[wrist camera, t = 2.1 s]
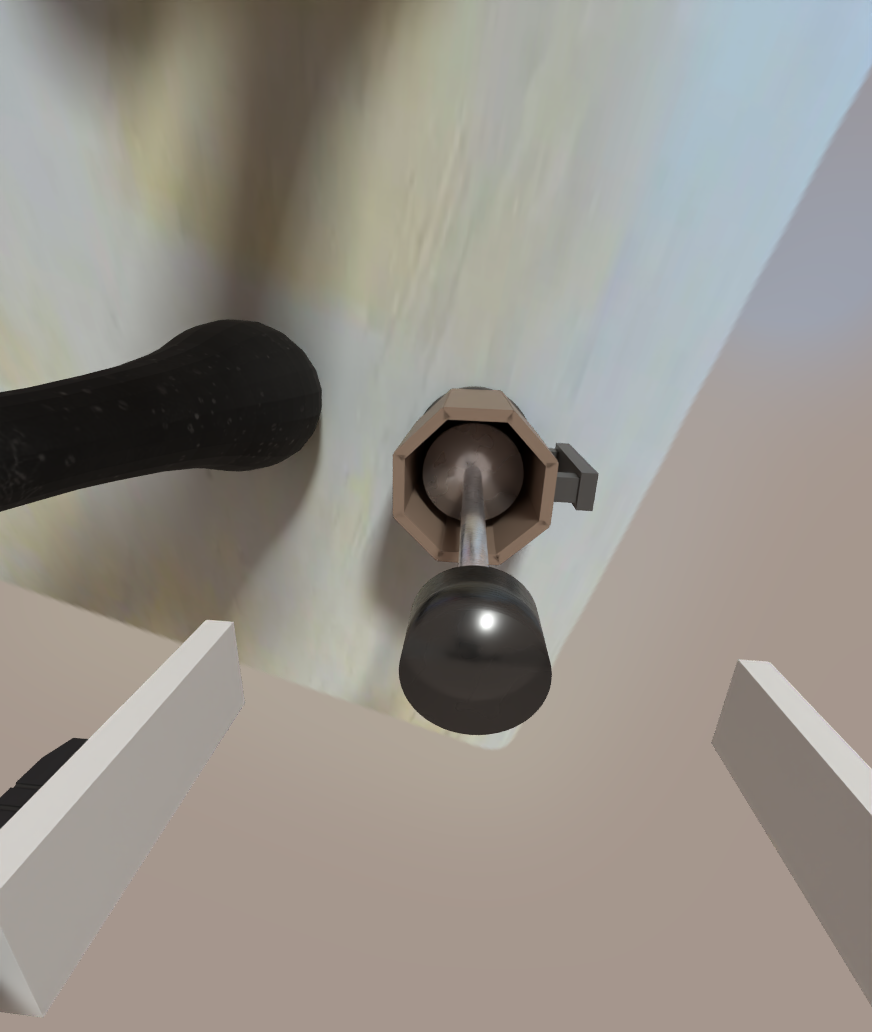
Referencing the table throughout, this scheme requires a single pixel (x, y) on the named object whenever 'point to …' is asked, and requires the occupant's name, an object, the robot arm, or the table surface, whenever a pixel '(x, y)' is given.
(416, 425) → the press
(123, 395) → the bottle
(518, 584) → the plunger
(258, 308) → the table surface
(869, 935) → the robot arm
